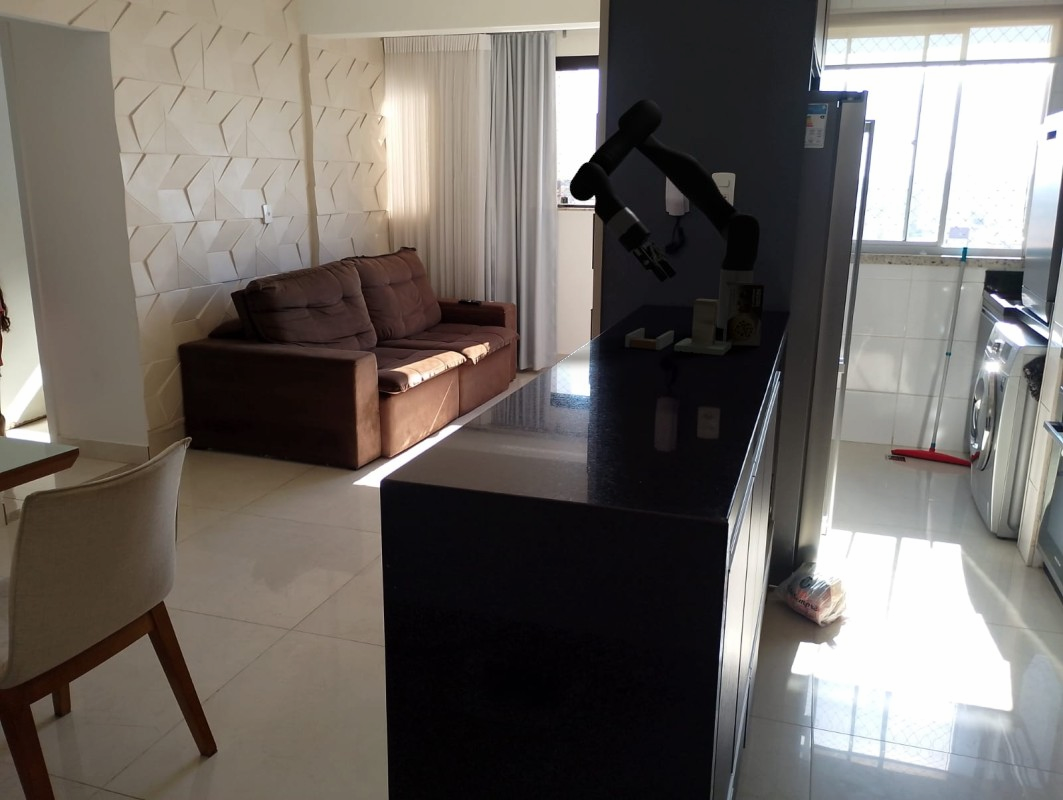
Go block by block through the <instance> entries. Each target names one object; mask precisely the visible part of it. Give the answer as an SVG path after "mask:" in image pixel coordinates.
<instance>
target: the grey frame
mask: <svg viewBox="0 0 1063 800" xmlns="http://www.w3.org/2000/svg"><path fill="white" fill-rule="evenodd" d="M645 329H646V328H645V327H640V328H638V329H636V330H634V331H632V332H629V333H628V334H625V337H624V338H625V341H624V342H625V343H624V344H625V345H624V348H634V349H635V348H636V349H637V348H638V349H645V350H647V349H648V350H656V351H661V350H662V349H664V348H665V347H668V346H669V345H671V344H673V343H674V336H675V335H674V334H675V330H671V329H670V330H668V331H666V332H665V333H663V334H661V335H660V336H657V337H655V339H652V338H645ZM660 349H661V350H660Z"/></svg>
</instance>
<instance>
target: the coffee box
mask: <svg viewBox="0 0 1063 800" xmlns="http://www.w3.org/2000/svg"><path fill="white" fill-rule="evenodd" d="M764 293H765V284H763V283H762V282H760V281H759V282H755V281H754V282H753V281H752V282H727V289H726V303H725V317H724V329H723V334H722V341H724V342H732V346H749V347H750V346H751V347H759V346H761V336H762V334H761V333H762V324H763V323H762V321H763V320H762V319H763V311H764V310H763V307H764V295H765V294H764Z"/></svg>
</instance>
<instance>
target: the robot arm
mask: <svg viewBox="0 0 1063 800" xmlns="http://www.w3.org/2000/svg"><path fill="white" fill-rule="evenodd" d="M662 121H663V113H662V110H661V108H660V106H659V105H658V104H657V103H656V102H655V101H654V100H651V99H648V98H647V99H646V98H644V99H640V100H639V101H637V102H635V103H633V105H632V106H631V107H630V108H628V109H627V110H626V111H625V112H624V113H623V114H621V116H620V117H619V118H618V121H617V127H618V130H617V131H615V132H614V134H612V135H611V136H610V137H609V138H608V139H606V141H604V142H603V143H602V144H601V145H600V147H598V148H597V150H596V151H595V152H594V153H593V154H592V155H591V157H590V158H589V160H588V161H587V162H584V163H583V164H581V166H579V168H578V169H577V171H576V173H575V174H574V175H573V177H572V179H571V180H570V182H569V193H570V195H571V197H573V198H574V199H575V200H577V201H578V202H587V201H589V200H591V199H592V198H595V204H594V208H593V209H594V212H595V214H596V216H597V217H598V218H599V219H600V220H601V221H602V222H603V224H605V226H606V227H607V229H608V230H609V232H610V233H611V234H612V236H613V237H614V238H615V239H616V240H617V242H618V243H620V245H621V246H622V247H623V248H624V250H625V251H626V252H627V253H629V254H630V253H632V255H633V256H634V257H635V259H636V260H638V261H639V263H640V264H641V265H642V266H643V268H644V269H645V270H646V271H649V272H651V273H653V274H654V276H655V277H656V278H657V279H658V280H659V281H660V282H661V283H663V282H665V281H666V280H667V279H668V278H669V279H672V278H674V277H675V276H676V275H677V273H678V272H677V271H676V269H675V268H674V267H673V266H672V265H671V264H670V262H669V257H668V255H666V253H664V252H663V251H662V249H661V248H660V247H659V246H658V245H657V244H656V242H654V241H652V242H649V241H648V239H649V238H650V237H651V236H652V235H651V231H650V230H649V229H648V228H647V226H646V225H645V224H644V223H643V222H642V221H641V220H640V218H639V217H638V216H637V215H636V214H635V213H634V211H632V210H631V209H630V208H629V207H628V206H627V205H626V204H625V203H624V201H622V199H621V198H620V197H619V196H618V194H617V192H616V191H615V188H614V186H613V184H612V182H611V180H610V178H609V177H610V176H611V175H613V174H614V172H615V171H616V170H617V169H618V168H619V166H621V164H622V163H623V162H624V160H625V159H626V158H627V157H628V155H629V154H630V153H631V152H632V151H633V150H634V149H636V150H637V151H638V152H640V153H641V154H642V155H643V156H644V157H645V158H646V159H648V161H650V162H651V163H652V164H653V165H654V166H655V167H656V168H657V169H658V170H659V171H660V172H661V173H662V174H663V175H664V176H665V177H666V178H667V179H668V180H669V182H671V183H672V185H673V186H674V187H675V188H676V189H677V190H678V191H679V192H680V193H681V194H682V195H683V196H684V197H685V198H686V199H687V200H688V202H690V203H691V204H692V205H693V206H694V207H695V208H697V210H699V211H700V212H701V213H702V214H704V215H705V217H706V218H707V219H708V220H709V222H710V223H711V224H712V225H713V227H714V228H715V229H716V231H717V232H718V233H719V235H720V236H721V238H722V239H723V240H724V241H725V242H726V248H725V249H726V251H725V254H724V257H723V258H722V259H721V265H720V277H719V278H720V279H719V288H718V289H719V292H718V310H717V323H716V329H717V328H718V329H721V330H724V317H725V303H726V289H727V282H753V278H754V267H755V263H756V261H757V257H758V253H759V252H758V251H759V242H760V234H761V231H760V230H761V229H760V223H759V220H757V218H756V217H755V216H754V215H752V214H749V213H746V212H745V213H744V212H740V210H738V209H737V208H735V206H733V205H732V204H731V202H729V201H728V200H727V198H725V197H724V196H723V194H722V192H721V191H720V189H719V187H718V185H717V183H716V181H715V180H714V178H713V176H712V175H711V173H710V172H709V171H708V170H707V169H706V168H705V166H704V165H703V164H701V163H700V162H699V161H698V159H697V158H696V157H695V156H693V155H691V154H689V153H686V152H683V151H682V150H678V149H676V148H672V147H669V146H667V145H666V144H664V143H662V142H661V141H660V140H658V138H657V137H656V136H654V134H653V133H655V132H656V131H657V130H658V129H659V128H660V126H661V124H662Z"/></svg>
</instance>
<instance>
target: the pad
mask: <svg viewBox="0 0 1063 800" xmlns="http://www.w3.org/2000/svg"><path fill="white" fill-rule="evenodd" d="M691 341H692V338H690V337H685V338H684V339H682V340H680V341H679V342H677V343H676V344H674V347H673V348H674V349H673V351H674V352H680V351H682V352H683V353H691V352H693V353H694V354H701V353H702V354H703V355H714V356H723V355H725V354H726V353H727V352H728V351H729V350H730V349H732V346H733V345H732V342H724V341H723V340H722V341H721V340H715V343H714V344H713V345H712V346H706V345H695V344H691ZM682 352H681V353H682ZM693 353H692V354H693Z"/></svg>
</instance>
